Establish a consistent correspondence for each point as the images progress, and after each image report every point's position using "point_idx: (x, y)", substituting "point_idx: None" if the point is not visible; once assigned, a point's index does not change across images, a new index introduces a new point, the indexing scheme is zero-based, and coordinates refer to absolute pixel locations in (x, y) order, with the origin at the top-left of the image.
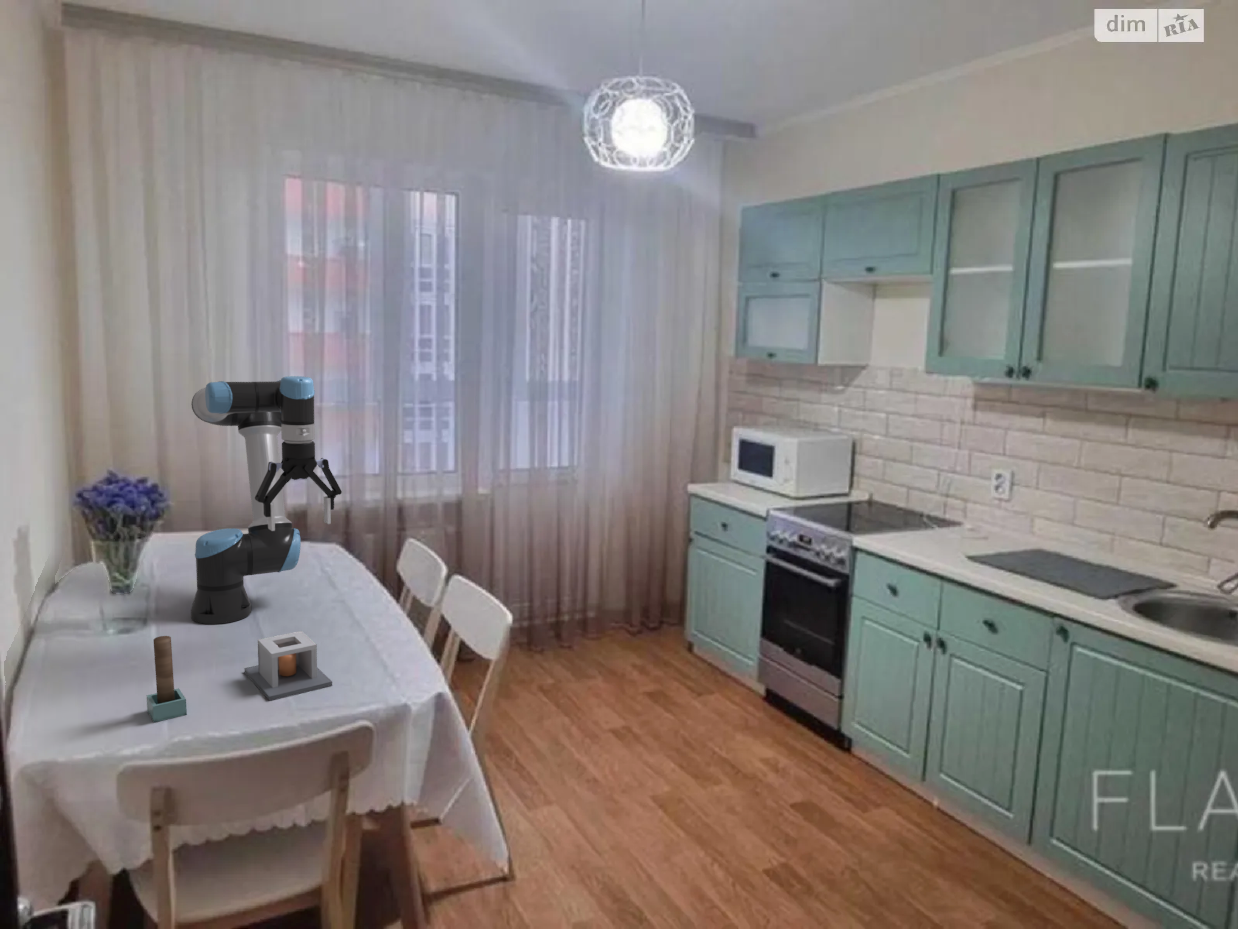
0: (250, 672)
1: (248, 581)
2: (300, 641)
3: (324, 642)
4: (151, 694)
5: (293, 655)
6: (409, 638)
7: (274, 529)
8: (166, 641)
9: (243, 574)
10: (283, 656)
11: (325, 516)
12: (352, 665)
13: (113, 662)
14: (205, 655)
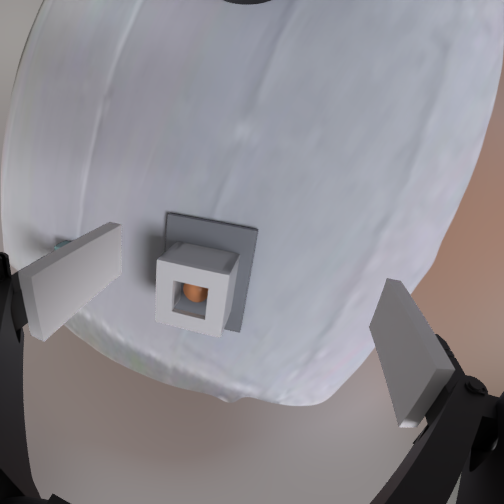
0: (168, 234)
1: None
2: (206, 312)
3: (323, 186)
4: (57, 247)
5: (200, 300)
6: (422, 269)
7: (117, 275)
8: None
9: None
10: (188, 293)
11: (387, 317)
12: (299, 294)
13: (72, 74)
14: (154, 112)
